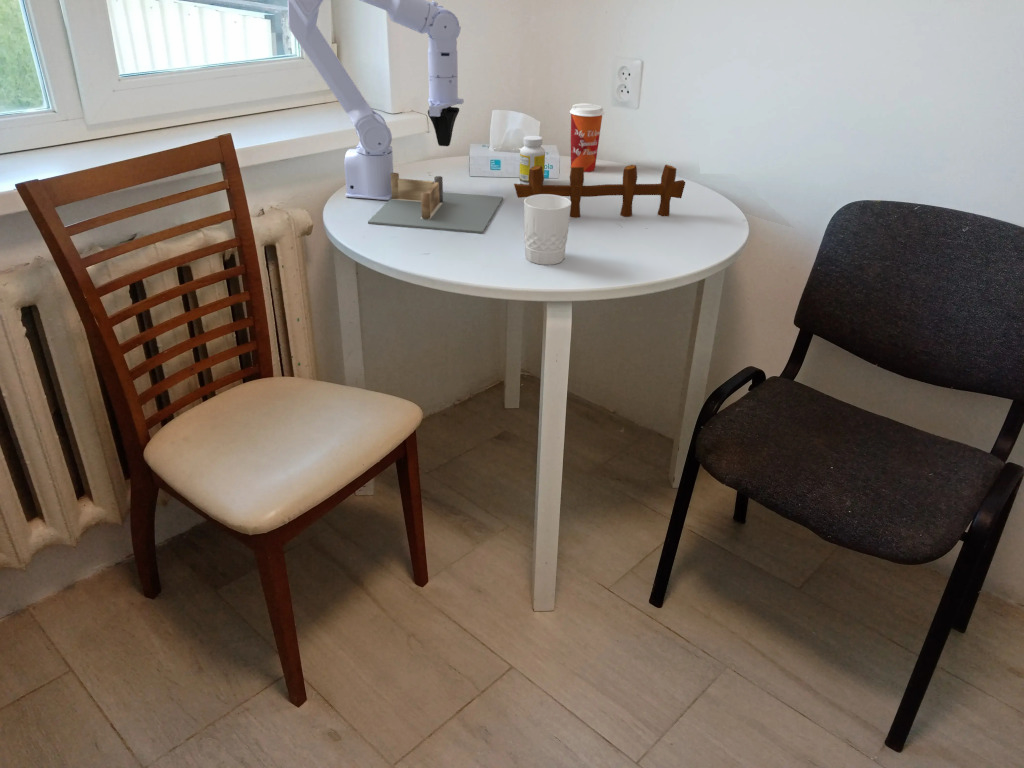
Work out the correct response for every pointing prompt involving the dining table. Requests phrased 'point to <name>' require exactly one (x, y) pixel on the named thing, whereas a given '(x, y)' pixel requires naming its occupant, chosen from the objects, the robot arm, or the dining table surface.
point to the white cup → (546, 228)
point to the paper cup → (585, 135)
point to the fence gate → (429, 200)
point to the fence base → (413, 187)
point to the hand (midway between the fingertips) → (444, 145)
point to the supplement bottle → (531, 157)
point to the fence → (606, 188)
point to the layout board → (441, 213)
